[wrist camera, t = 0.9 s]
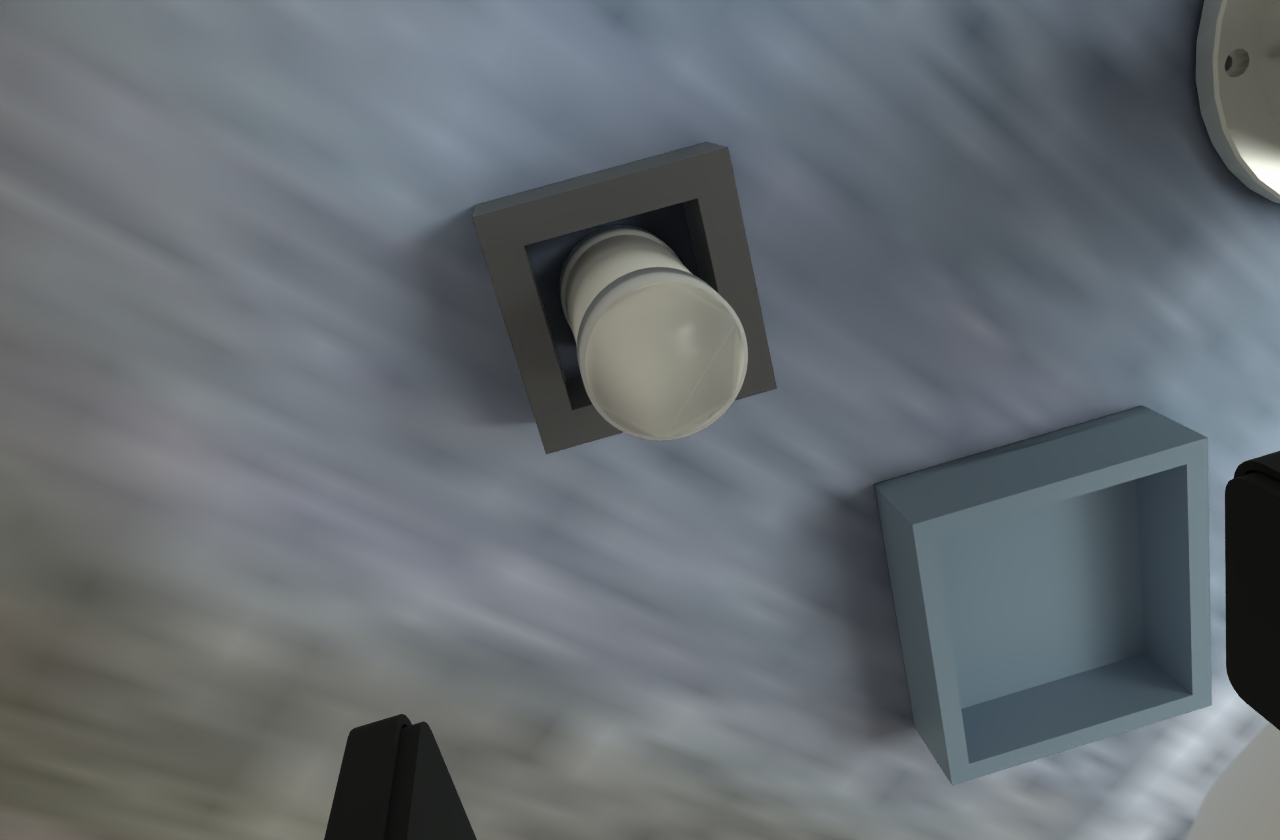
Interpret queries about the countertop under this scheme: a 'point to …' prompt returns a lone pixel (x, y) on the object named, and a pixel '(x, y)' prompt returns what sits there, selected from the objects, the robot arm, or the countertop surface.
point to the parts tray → (1052, 589)
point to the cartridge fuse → (650, 335)
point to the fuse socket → (599, 200)
